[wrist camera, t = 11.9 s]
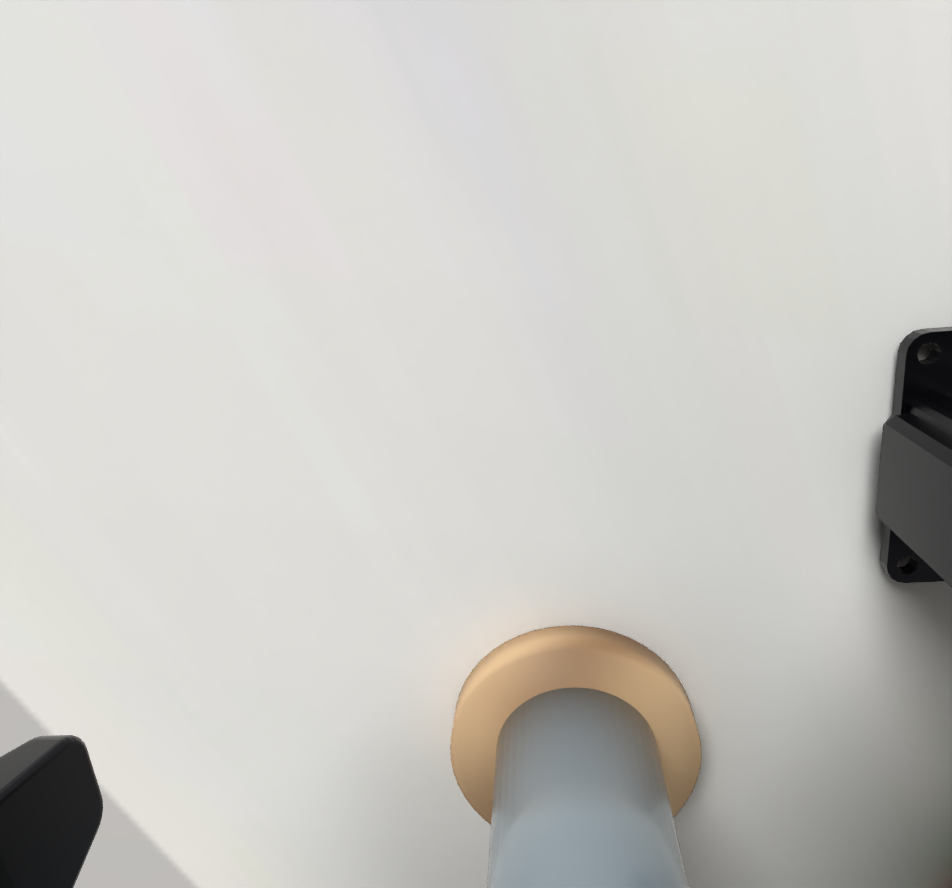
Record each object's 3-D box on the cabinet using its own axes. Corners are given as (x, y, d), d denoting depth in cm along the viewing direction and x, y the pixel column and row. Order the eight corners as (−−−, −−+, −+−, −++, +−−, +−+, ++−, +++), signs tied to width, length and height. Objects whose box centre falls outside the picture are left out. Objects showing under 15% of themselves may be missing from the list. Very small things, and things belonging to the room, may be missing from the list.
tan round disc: (692, 620, 21) (701, 645, 19) (692, 819, 23) (701, 852, 22) (442, 630, 21) (437, 655, 20) (466, 822, 23) (463, 853, 22)
